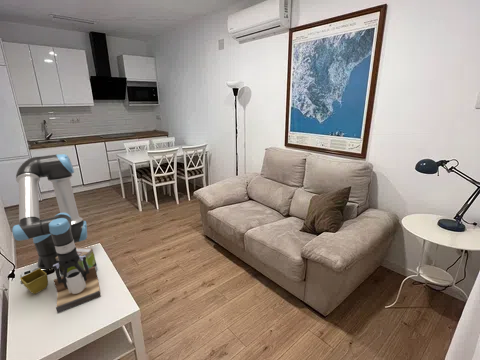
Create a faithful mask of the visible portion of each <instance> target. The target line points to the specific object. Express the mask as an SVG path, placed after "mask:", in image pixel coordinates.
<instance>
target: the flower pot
mask: <svg viewBox="0 0 480 360" xmlns="http://www.w3.org/2000/svg"><path fill="white" fill-rule="evenodd" d="M19 279H20V281H21V283H22V284H23V286H24V287H25V288H26V289H27V290H28V291H29V292H30V293H32V294H33V295H37V294H38V293H40V292H42V291H44V290H45V289H47V287H48V285H49V280H48V279H49V278H48V274H47V272H46V271H43V270H41V269H40V268H37V269H35V270H33V271H32V272H29V273H27V274H24V275H23V276H21V277H20V278H19Z"/></svg>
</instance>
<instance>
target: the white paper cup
mask: <svg viewBox="0 0 480 360" xmlns="http://www.w3.org/2000/svg"><path fill="white" fill-rule="evenodd" d="M66 280H67V282H68V284H69V287H70V290H71V293H73V294H77V293H80V292H81V291H83V290H84V284H83V280H82V274H81V272H79V271H78V269H74V270H71V271H69V272H68V273H67V277H66Z"/></svg>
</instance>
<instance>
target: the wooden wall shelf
mask: <svg viewBox="0 0 480 360" xmlns="http://www.w3.org/2000/svg"><path fill="white" fill-rule="evenodd" d="M84 271H86V270H84ZM86 277H87V281H85V283H86V288H84V290H83V291H81V292H80V293H77V294H73V293H69V290H68V287H67V288H65V287H64V283H58V280H57V278H54V279H53V283H54V286H55V289H56V292H57V296H56V306H55V311H56V313H57V314H59V313H63V312H65V311H67V310H71V309H73V308H75V307H79V305H84V304H86V303H88V302H90V301H94V300H96V299H98V298H101V296H102V295H101V288H100V281H99V278H98V274H97V271H96V269H95V266H94V267H91V268H89V274H86ZM61 279H63V277H61Z"/></svg>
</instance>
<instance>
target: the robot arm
mask: <svg viewBox="0 0 480 360" xmlns="http://www.w3.org/2000/svg"><path fill="white" fill-rule="evenodd" d="M73 173H75V170H74V166H73V164H72V162H71V158H70V157H69V156H68V155H67V154H66V153H63V154H60V153H59V154H57V153H56V154H51V155H50V154H49V155H43V156H33V157H30V158H28V159H27V160H25V161H24V162H22V164H21V165H20V166H19V167H18V170H17V171H16V176H15V180H16V182H17V184H18V223H19V224H15V225H13V227H12V236H13V238H14V240H15V241H19V242H20V241H21V242H22V241H25V240H26V241H27V240H31V239H32V243H33V244H34V246H35V249H36V252H37V255H38V259H37V269H39V268H40V269H50V268H53V269H54V270H53V271H54V272H55V275H56V279H57V280H58V283H64V287H65V288H67V287H68V290H69V293H71V290H70V287H69V284H68V282H67V280H66V277H67V269H68V268H70V267H73V266H75V268H77V269H78V271H79V272H81V274H82V280H83V284H84V288H86V283H85V281H87V277H86V274H89V268H88V265H87V262H86V255H83V256H79V255H78V254H77V250H76V248H77V247H76V244H75V243H80V242H83V241H86V240H87V239H88V224H87V221H86V220H84V219H83V217H81V216H80V214H79V210H78V207H77V203H76V198H75V195H74V191H73V187H72V183H71V178H72V177H73ZM41 178H47V180H48V181H49V182H51V184H52V187H53V191H54V195H55V199H56V203H57V206H58V209H59V213H57V214H55V216H53V217H48V218H43V219H40V201H39V185H38V183H39V182H40V180H41ZM57 256H58V258H59V263H57V261H56V257H57ZM79 259H81V261H83V264H84V267H85V270H86V271H84V270H83V269H82V267H81V266H80V265H79V264H78V261H79ZM59 265H61V266H63V267H64V275H63V279H61V274H60V271H59Z"/></svg>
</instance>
